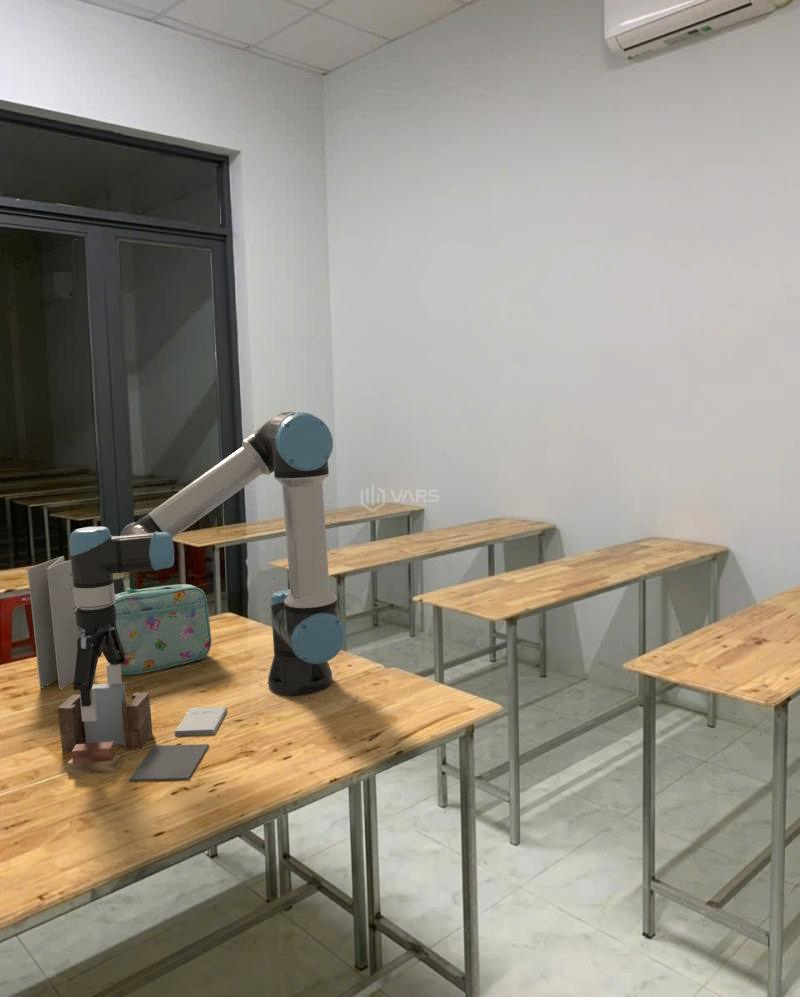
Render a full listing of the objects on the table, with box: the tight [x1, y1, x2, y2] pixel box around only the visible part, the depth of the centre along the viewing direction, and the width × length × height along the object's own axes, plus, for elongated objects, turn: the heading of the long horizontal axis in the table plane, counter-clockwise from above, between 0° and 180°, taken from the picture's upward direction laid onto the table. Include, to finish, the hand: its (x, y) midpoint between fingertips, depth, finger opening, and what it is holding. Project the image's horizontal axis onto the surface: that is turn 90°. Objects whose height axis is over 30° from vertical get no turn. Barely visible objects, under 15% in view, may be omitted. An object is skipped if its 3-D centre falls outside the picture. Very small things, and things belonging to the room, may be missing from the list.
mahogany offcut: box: [71, 741, 116, 764], centre depth 155 cm, size 7×3×2 cm, turn 97°
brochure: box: [27, 555, 85, 690], centre depth 204 cm, size 14×6×30 cm, turn 168°
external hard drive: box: [174, 705, 228, 736], centre depth 176 cm, size 2×8×12 cm
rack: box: [57, 692, 153, 752], centre depth 167 cm, size 16×8×9 cm, turn 88°
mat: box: [128, 743, 210, 782], centre depth 157 cm, size 11×14×1 cm
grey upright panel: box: [84, 683, 127, 746], centre depth 167 cm, size 8×2×12 cm, turn 88°
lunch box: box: [109, 583, 212, 676], centre depth 212 cm, size 27×10×21 cm, turn 120°
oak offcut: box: [66, 754, 122, 775], centre depth 156 cm, size 9×3×2 cm, turn 87°
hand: (103, 707), depth 166 cm, fingers open, 13 cm apart
